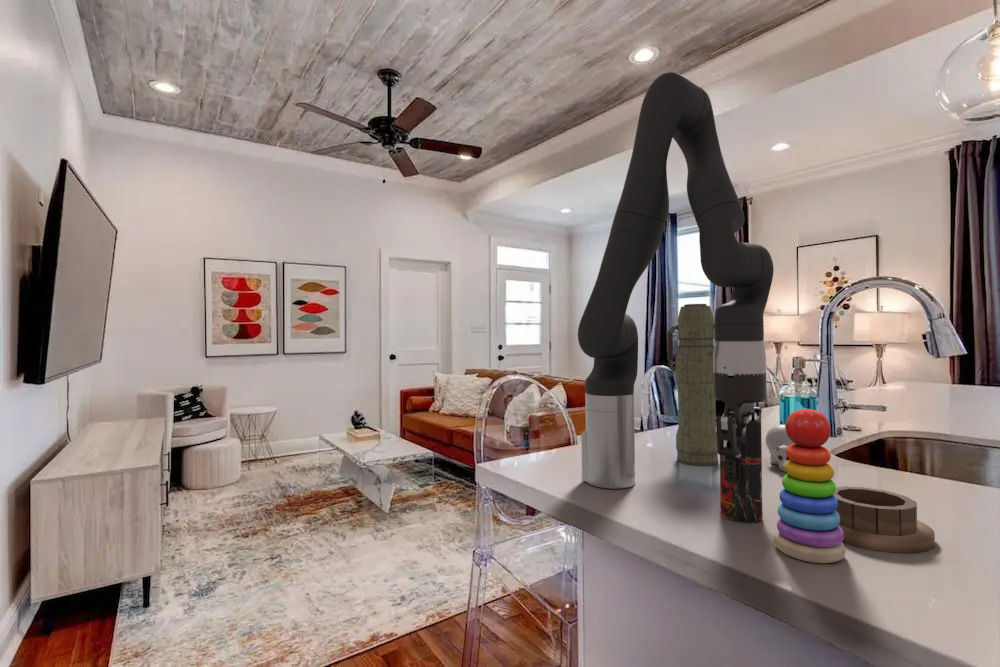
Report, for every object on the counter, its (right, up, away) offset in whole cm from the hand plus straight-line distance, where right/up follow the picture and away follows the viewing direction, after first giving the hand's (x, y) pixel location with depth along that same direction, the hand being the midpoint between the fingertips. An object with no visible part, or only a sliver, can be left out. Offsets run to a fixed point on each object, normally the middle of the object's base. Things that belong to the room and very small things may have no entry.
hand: (740, 477), depth 81 cm
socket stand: (+15, -6, -7) cm, 18 cm away
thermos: (+6, -6, +35) cm, 36 cm away
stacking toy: (+3, -6, -13) cm, 15 cm away
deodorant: (0, -6, 0) cm, 6 cm away
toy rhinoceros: (+23, -6, +29) cm, 37 cm away
